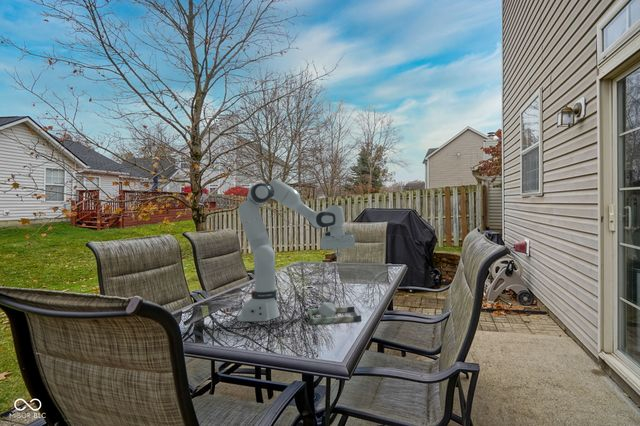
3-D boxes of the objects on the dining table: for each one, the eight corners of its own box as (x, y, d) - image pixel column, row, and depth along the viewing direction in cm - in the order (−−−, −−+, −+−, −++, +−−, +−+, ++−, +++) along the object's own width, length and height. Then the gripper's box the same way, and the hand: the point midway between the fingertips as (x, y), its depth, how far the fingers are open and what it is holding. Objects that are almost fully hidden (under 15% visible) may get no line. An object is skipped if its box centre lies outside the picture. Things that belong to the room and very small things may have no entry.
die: (338, 317, 183) (331, 301, 188) (337, 313, 176) (329, 296, 181) (324, 324, 182) (317, 307, 187) (322, 320, 175) (315, 303, 180)
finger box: (311, 325, 171) (310, 319, 171) (309, 314, 191) (308, 309, 191) (361, 321, 173) (361, 315, 173) (354, 311, 193) (354, 306, 193)
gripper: (353, 231, 209) (354, 254, 209) (319, 233, 208) (320, 256, 207) (355, 232, 203) (356, 255, 203) (320, 233, 201) (321, 257, 201)
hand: (338, 256), depth 205 cm, fingers closed
